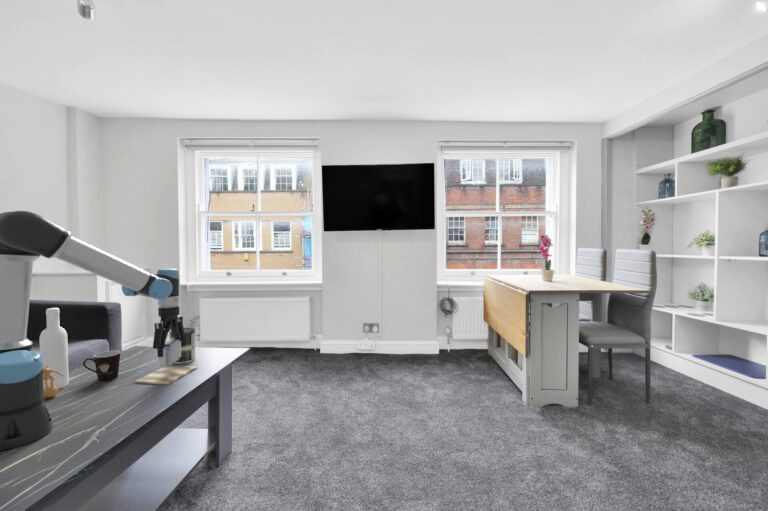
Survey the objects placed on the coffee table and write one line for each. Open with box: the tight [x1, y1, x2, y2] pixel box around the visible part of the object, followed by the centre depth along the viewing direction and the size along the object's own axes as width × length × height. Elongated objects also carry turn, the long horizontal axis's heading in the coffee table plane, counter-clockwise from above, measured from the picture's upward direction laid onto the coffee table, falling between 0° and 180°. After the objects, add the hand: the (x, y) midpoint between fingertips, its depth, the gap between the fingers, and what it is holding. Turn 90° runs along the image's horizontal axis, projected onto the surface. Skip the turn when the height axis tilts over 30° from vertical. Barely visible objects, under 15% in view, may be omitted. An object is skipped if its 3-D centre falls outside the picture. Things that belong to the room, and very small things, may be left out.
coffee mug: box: [82, 350, 121, 382], centre depth 145 cm, size 12×9×10 cm
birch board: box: [134, 364, 198, 386], centre depth 149 cm, size 18×14×1 cm
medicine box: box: [159, 338, 180, 366], centre depth 148 cm, size 8×4×9 cm, turn 6°
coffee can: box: [169, 327, 196, 365], centre depth 167 cm, size 10×10×14 cm
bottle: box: [39, 307, 70, 391], centre depth 136 cm, size 8×8×30 cm
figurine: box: [43, 366, 63, 399], centre depth 126 cm, size 8×6×12 cm
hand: (170, 360), depth 148 cm, fingers closed on medicine box, 8 cm apart
